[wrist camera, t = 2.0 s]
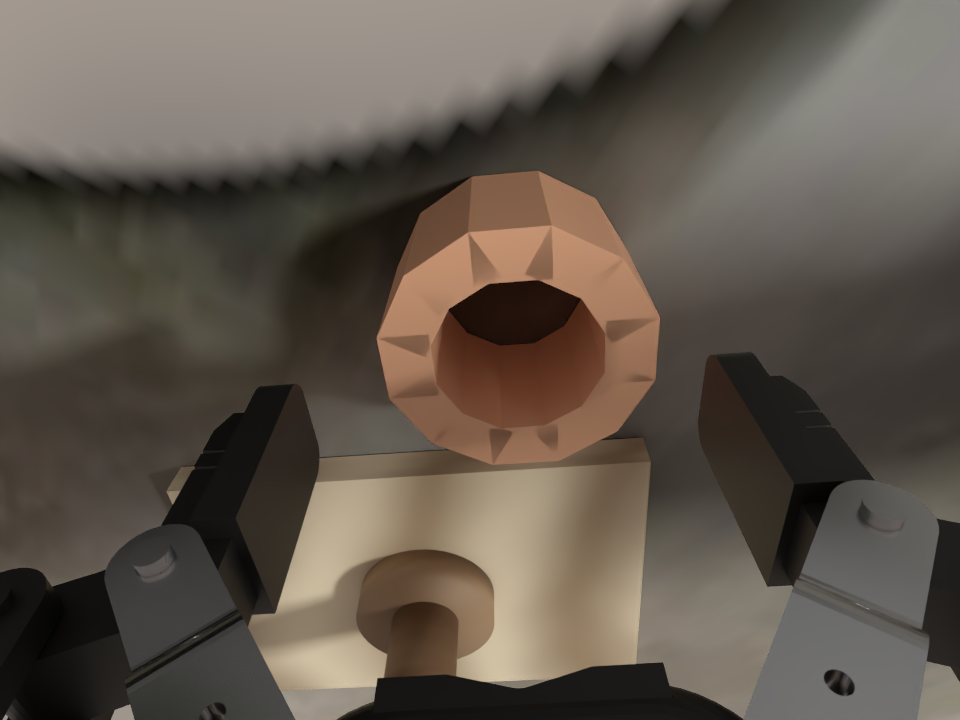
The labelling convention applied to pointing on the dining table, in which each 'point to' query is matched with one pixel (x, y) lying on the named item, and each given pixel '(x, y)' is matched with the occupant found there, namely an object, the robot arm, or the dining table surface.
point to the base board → (479, 538)
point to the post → (425, 611)
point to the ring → (522, 367)
